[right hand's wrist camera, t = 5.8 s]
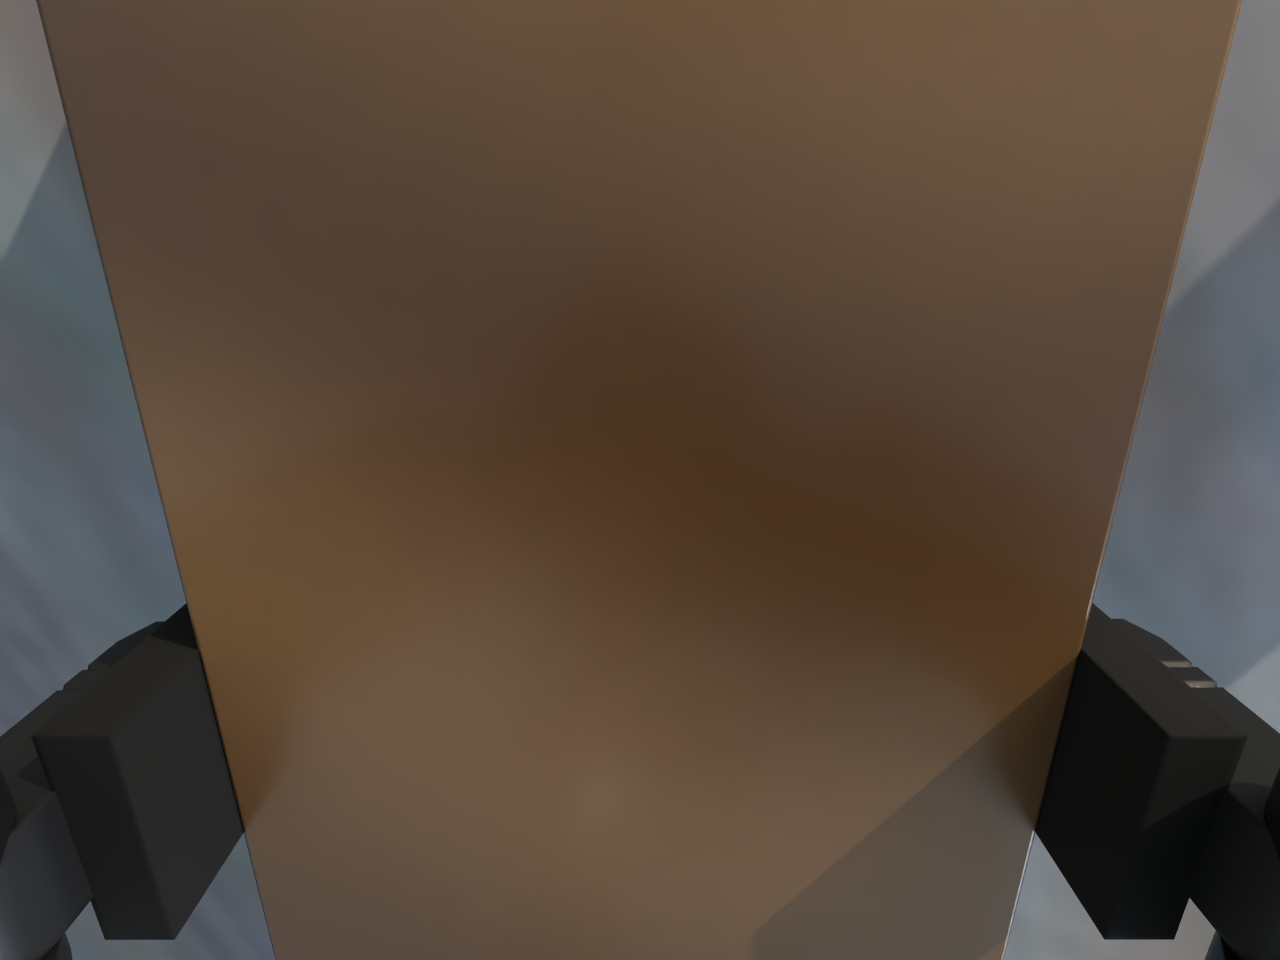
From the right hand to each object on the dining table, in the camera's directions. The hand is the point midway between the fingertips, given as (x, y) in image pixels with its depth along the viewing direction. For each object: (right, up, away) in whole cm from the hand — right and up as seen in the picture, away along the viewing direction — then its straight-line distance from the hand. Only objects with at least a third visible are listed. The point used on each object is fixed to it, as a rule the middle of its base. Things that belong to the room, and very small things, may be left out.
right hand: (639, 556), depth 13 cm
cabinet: (0, +6, +2) cm, 6 cm away
